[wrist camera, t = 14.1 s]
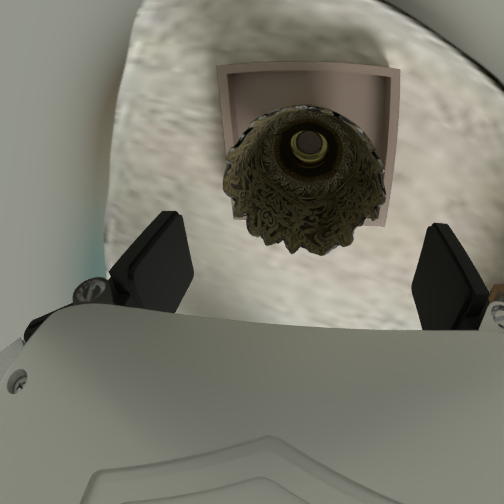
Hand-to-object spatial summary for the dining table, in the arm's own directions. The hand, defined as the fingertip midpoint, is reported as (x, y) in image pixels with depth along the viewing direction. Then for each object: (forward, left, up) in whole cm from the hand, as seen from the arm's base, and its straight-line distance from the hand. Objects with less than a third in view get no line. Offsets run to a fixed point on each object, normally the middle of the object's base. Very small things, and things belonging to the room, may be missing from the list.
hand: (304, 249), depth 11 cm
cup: (0, +1, -12) cm, 11 cm away
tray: (0, +1, -12) cm, 12 cm away
